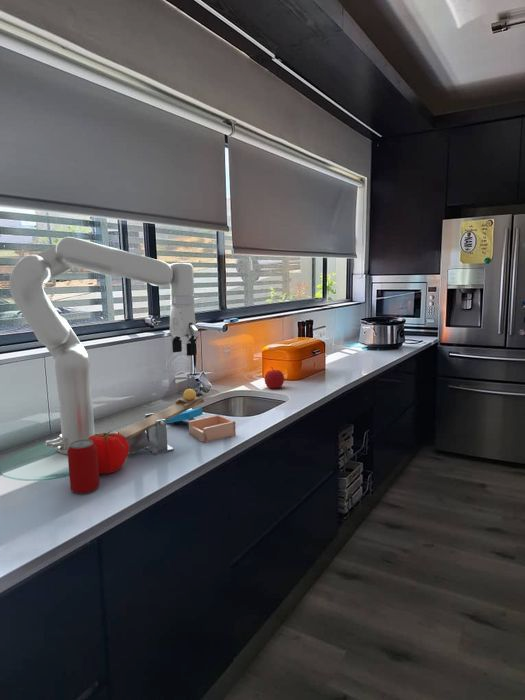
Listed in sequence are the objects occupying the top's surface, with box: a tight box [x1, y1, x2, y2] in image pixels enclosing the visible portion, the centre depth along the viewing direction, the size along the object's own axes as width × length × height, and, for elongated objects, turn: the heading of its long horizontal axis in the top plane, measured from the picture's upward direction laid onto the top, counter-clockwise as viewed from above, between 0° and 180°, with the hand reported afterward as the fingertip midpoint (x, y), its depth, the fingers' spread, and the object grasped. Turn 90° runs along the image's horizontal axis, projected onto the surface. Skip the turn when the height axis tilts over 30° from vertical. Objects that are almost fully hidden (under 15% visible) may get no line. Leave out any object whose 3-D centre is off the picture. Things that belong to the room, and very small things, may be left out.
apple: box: [264, 367, 285, 389], centre depth 221 cm, size 9×9×10 cm
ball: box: [182, 388, 197, 401], centre depth 150 cm, size 4×4×4 cm
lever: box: [116, 395, 205, 455], centre depth 146 cm, size 26×7×7 cm, turn 126°
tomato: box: [88, 430, 129, 475], centre depth 128 cm, size 13×12×11 cm
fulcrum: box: [144, 412, 175, 456], centre depth 145 cm, size 6×11×10 cm, turn 36°
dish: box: [188, 414, 237, 443], centre depth 156 cm, size 12×11×4 cm
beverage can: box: [67, 439, 100, 495], centre depth 116 cm, size 7×7×12 cm
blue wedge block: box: [166, 407, 204, 424], centre depth 168 cm, size 7×7×18 cm
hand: (184, 353), depth 155 cm, fingers open, 9 cm apart
